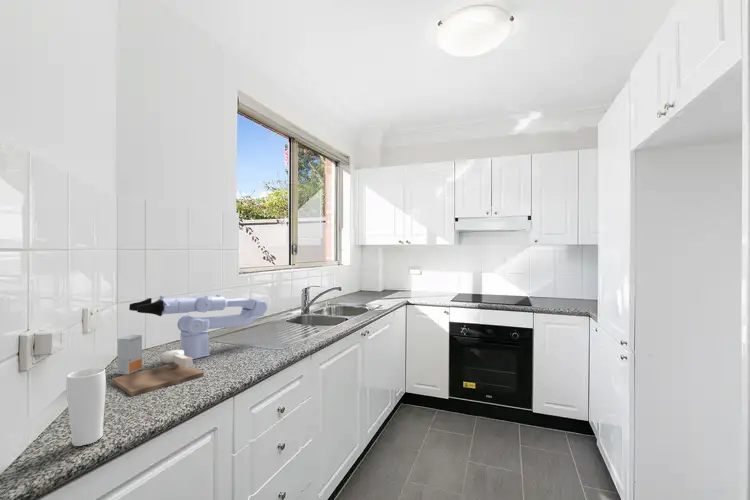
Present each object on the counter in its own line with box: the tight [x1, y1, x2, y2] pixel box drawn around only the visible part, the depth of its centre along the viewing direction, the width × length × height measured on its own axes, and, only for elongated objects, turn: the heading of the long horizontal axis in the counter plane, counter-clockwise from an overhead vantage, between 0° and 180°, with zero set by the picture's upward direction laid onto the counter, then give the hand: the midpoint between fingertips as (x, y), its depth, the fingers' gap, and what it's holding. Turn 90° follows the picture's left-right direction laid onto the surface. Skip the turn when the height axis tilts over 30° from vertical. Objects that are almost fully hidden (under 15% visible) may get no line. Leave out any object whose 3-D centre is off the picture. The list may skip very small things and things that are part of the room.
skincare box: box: [117, 334, 143, 375], centre depth 125 cm, size 6×4×12 cm
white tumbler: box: [65, 367, 107, 447], centre depth 79 cm, size 7×7×15 cm
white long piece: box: [160, 349, 194, 368], centre depth 123 cm, size 16×7×3 cm, turn 50°
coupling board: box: [111, 362, 205, 397], centre depth 118 cm, size 20×18×4 cm
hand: (133, 308), depth 126 cm, fingers open, 7 cm apart
